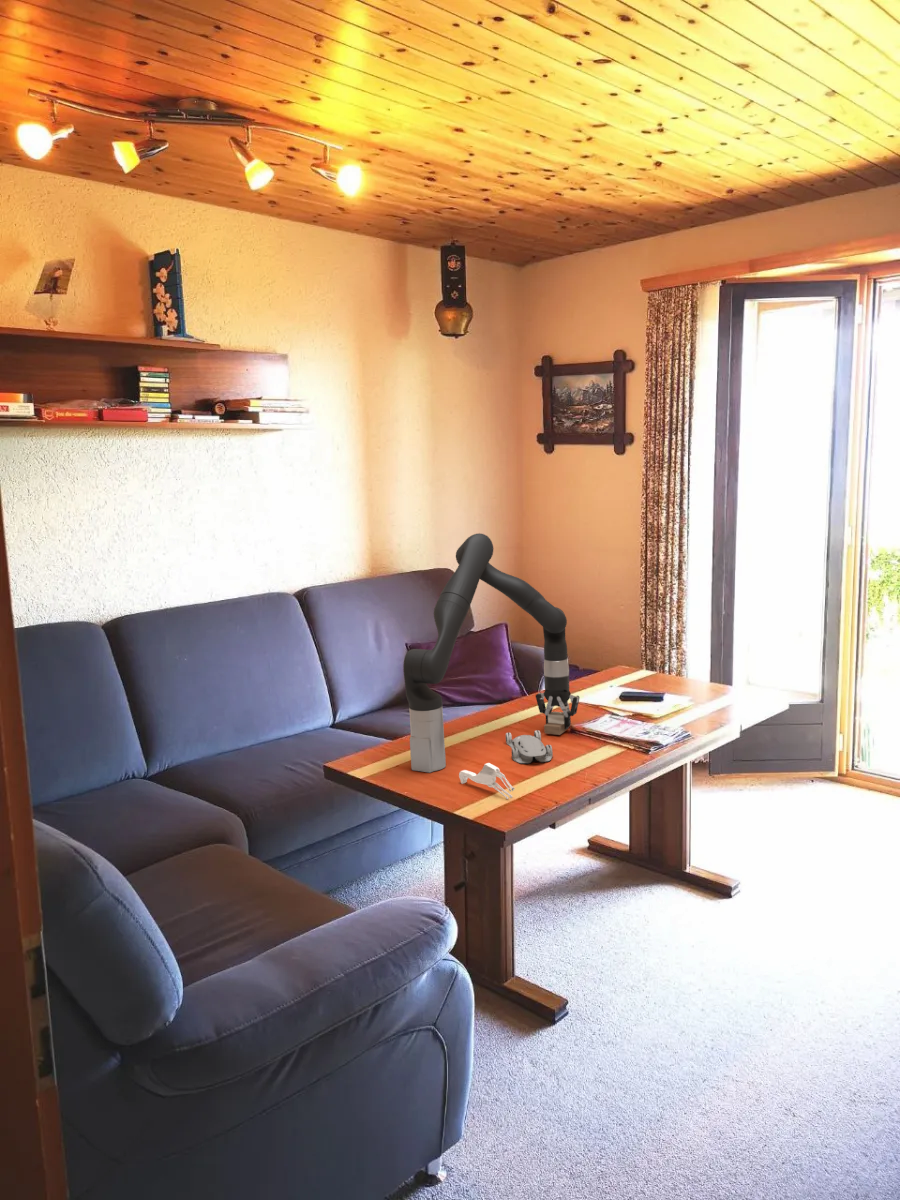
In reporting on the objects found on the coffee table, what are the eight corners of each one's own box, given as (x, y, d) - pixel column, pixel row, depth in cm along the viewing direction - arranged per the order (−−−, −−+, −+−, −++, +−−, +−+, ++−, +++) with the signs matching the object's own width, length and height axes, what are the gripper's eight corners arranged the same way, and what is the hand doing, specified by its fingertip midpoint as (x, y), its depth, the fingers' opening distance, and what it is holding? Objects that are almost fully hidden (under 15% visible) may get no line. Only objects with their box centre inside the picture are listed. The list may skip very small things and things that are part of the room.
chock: (553, 727, 286) (552, 711, 285) (568, 728, 283) (568, 712, 283) (544, 733, 280) (543, 717, 279) (559, 734, 277) (559, 718, 277)
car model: (540, 739, 277) (539, 723, 277) (556, 765, 253) (555, 747, 253) (503, 742, 277) (502, 726, 276) (516, 768, 253) (515, 751, 252)
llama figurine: (506, 819, 233) (461, 778, 244) (517, 783, 228) (470, 743, 240) (501, 821, 232) (456, 779, 243) (511, 785, 227) (465, 744, 238)
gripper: (529, 674, 281) (532, 728, 283) (573, 677, 273) (575, 733, 276) (539, 669, 287) (541, 722, 289) (583, 672, 280) (584, 726, 282)
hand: (558, 727), depth 283 cm, fingers closed on chock, 5 cm apart
